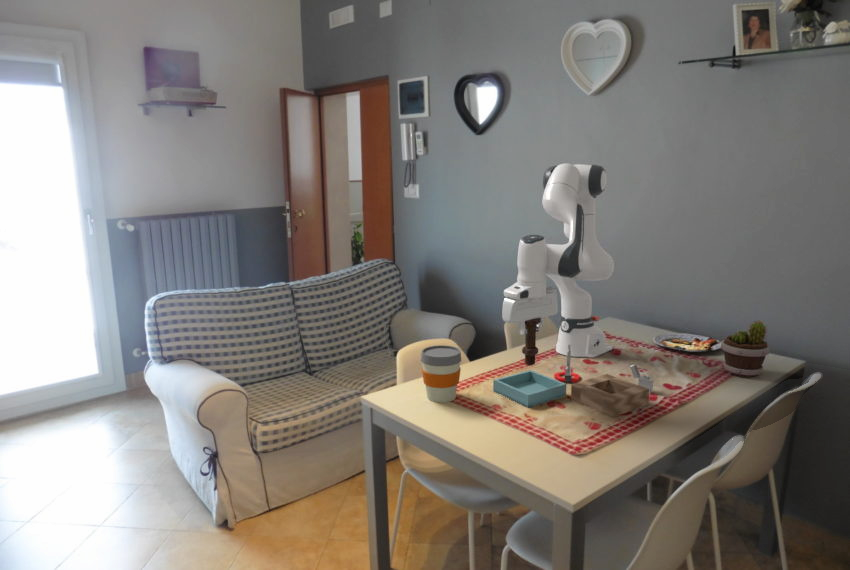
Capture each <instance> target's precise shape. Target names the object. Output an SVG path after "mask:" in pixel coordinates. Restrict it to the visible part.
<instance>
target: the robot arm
mask: <svg viewBox="0 0 850 570" xmlns="http://www.w3.org/2000/svg"><path fill="white" fill-rule="evenodd" d="M607 181H608V177H607V172H606V169H605V168H604V167H603V166H601V165H598V164H592V165H591V164H584V163H583V164H582V163H578V164H577V163H576V164H571V163H567V162H566V163H561V164H558V165H553V166H549V167H548V168H547V169H545V170H544V173H543V177H542V185H543V190H544V192H543V194H542V201H541V202H542V207H543V210H544V211H545V213H547V215H549V216H550V217H551V218H553V219H554V220H557V221H559V222H563V234H564V236H565V237H566V238H567V239H569V240H568V242H567V243H565V244H558V243H557V244H555V243H552V244H551V243H546V238H545V236H543V235H540V234H528V235H524V236H523V237H521V238H520V240H519V243H518V248H517V249H518V250H517V264H516V265H517V269H518V270H517V271H518V273H517V276H516V277H517V278H516V282H514V283H513V284H512V285H510V286H508V287H507V288H505V289H504V290H503V296H504V297H505V298H504V299H503V302H502V311H501V313H502V314H501V315H502V320H503V322H504V323H507V324H509V325H510V324H516V325H517V327H518V329H519V335H522V336H525V334H527V329H526V328H525V326H524V325H525V321H527V320H532V319H537V318H540V323H539V324H537V325H536V333H539V332H542V326H543V324H544V322H545V321H546V320H545V318H546V317H550V316H556V315H557V314H558V311H559V303H558V301H559V300H558V296H557V289H558V290H559V294H560V301H561V302H560V304H561V305H560V307H561V308H560V309H561V313H560V315H559V330H558V338H557V343H555V347H556V348H555V351H556V353H558V354H560V355H563V356H567V351H568V345H570V351H571V357H575V358H576V357H577V358H578V357H582V358H593V359H594V358H596V357H599V356H600V355H603V354H604V353H605V354H606V353H607V352H609V351H612V350H613V346H612V345H610V344H608V343H607V336H606V333H604V332H603V331H602V330H601V329H600V328H599V327H598V326H597V325H595V322H596V323H597V322H599V320H600V317H599V316H597V315H592V303H593V301H592V300H593V299H592V295H591V294H590V293H589V292H588V291H587V290H585V289H583V288H582V287H580V286H579V285H578V284H577V282H576V281H589V282H597V281H606V280H608V279H609V278H610V277H612V276H613V275H612V274H613V273H614V270H615V261H614V260H613V257H612V256H611V255H610V254H609V253H608V252H607V251H605V250H604V249H603V248H602V246H601V244H600V243H599V241H598V237H597V235H596V234H597V232H596V198H597V196H600V195H601V194H602V193H603V192H604V191H605V188H606V185H607ZM547 277H548V278H549V279H550V280H552V281H553V282H554V284H555V285H556V287H557V289H556V287H555V286H553V285H549V286H547Z"/></svg>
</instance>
